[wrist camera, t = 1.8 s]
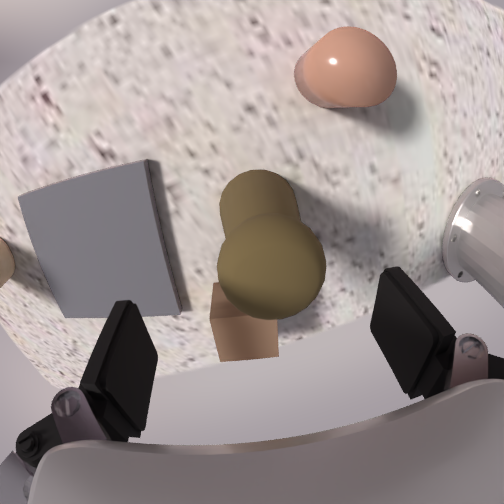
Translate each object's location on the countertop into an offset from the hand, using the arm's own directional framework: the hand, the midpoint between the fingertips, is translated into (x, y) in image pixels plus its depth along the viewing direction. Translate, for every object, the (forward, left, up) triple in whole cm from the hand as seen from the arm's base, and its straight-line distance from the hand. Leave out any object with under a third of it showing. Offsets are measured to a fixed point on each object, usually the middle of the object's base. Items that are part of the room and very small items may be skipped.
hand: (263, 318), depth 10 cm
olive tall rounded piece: (-1, 0, -13) cm, 13 cm away
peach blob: (-7, -10, -13) cm, 18 cm away
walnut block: (+1, +9, -13) cm, 16 cm away
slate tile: (+14, +2, -13) cm, 19 cm away
